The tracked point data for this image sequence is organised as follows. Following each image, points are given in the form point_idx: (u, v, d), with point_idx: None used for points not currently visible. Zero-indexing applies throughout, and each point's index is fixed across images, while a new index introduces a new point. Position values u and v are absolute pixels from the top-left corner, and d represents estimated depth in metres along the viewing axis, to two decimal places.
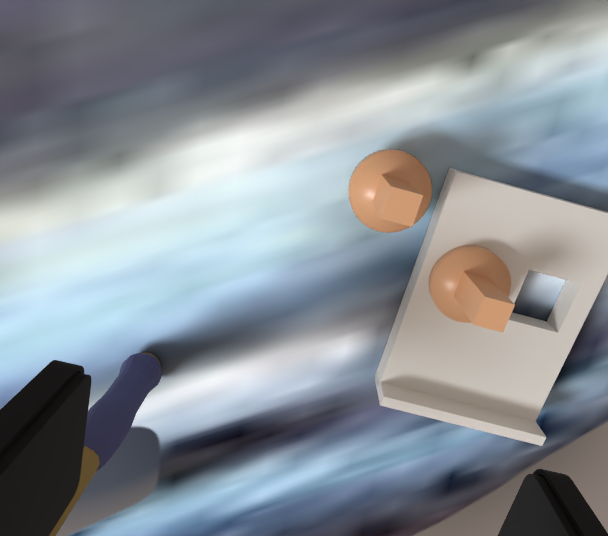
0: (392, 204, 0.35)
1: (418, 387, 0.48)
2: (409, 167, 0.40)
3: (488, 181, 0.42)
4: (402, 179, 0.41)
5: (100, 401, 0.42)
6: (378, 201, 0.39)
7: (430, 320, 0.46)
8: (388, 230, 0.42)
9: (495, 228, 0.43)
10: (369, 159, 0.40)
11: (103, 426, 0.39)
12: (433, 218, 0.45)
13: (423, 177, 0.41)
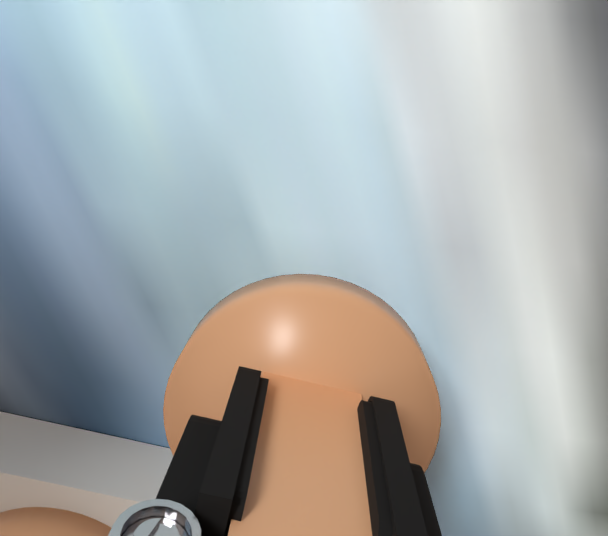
0: None
1: None
2: None
3: None
4: None
5: None
6: (281, 457, 0.09)
7: None
8: (171, 424, 0.12)
9: None
10: (415, 356, 0.12)
11: None
12: None
13: None
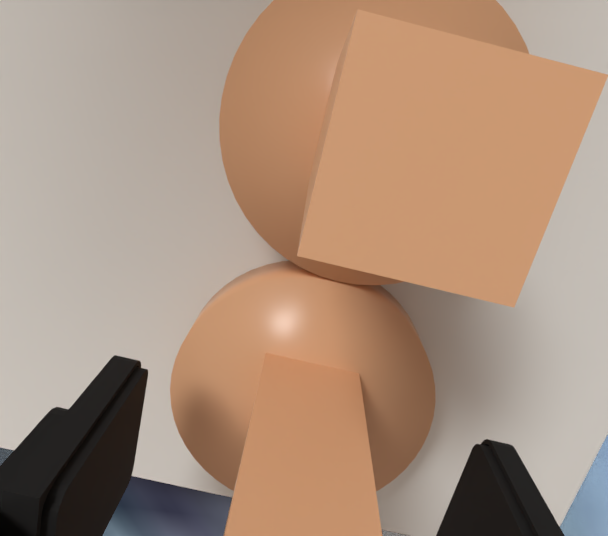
0: None
1: None
2: (381, 449, 0.13)
3: None
4: None
5: None
6: (283, 428, 0.10)
7: (202, 3, 0.11)
8: (177, 404, 0.13)
9: (564, 209, 0.12)
10: (410, 336, 0.12)
11: None
12: None
13: None
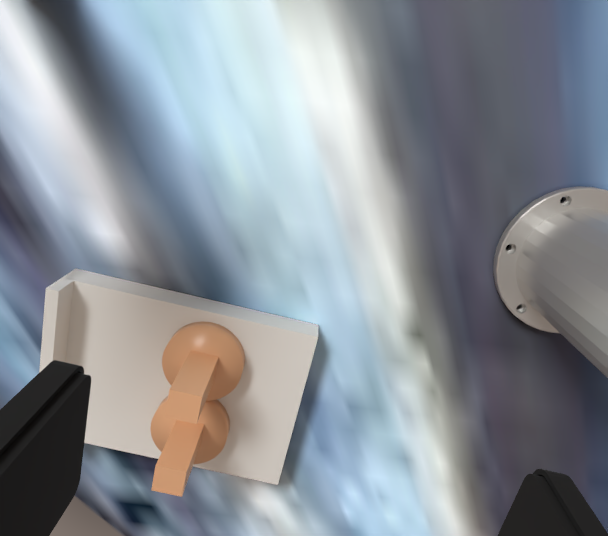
0: (170, 474, 0.38)
1: (74, 321, 0.43)
2: (213, 445, 0.44)
3: (309, 365, 0.43)
4: (201, 441, 0.44)
5: None
6: (175, 440, 0.41)
7: (158, 327, 0.42)
8: (152, 432, 0.44)
9: (263, 377, 0.44)
10: (217, 414, 0.43)
11: None
12: (268, 316, 0.44)
13: (205, 457, 0.45)
